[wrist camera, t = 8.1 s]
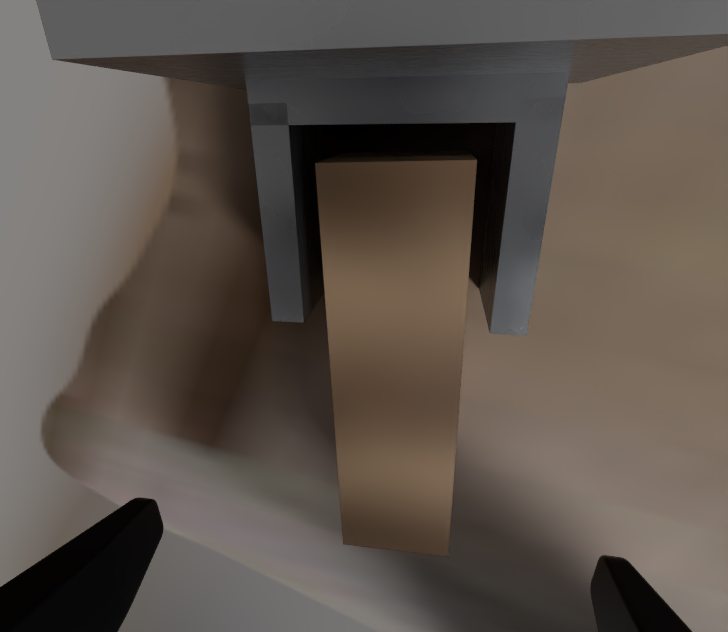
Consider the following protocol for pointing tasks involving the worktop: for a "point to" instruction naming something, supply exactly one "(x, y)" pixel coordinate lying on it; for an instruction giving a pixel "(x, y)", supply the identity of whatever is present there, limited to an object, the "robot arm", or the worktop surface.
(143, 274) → the worktop surface
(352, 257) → the rail
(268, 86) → the bracket
